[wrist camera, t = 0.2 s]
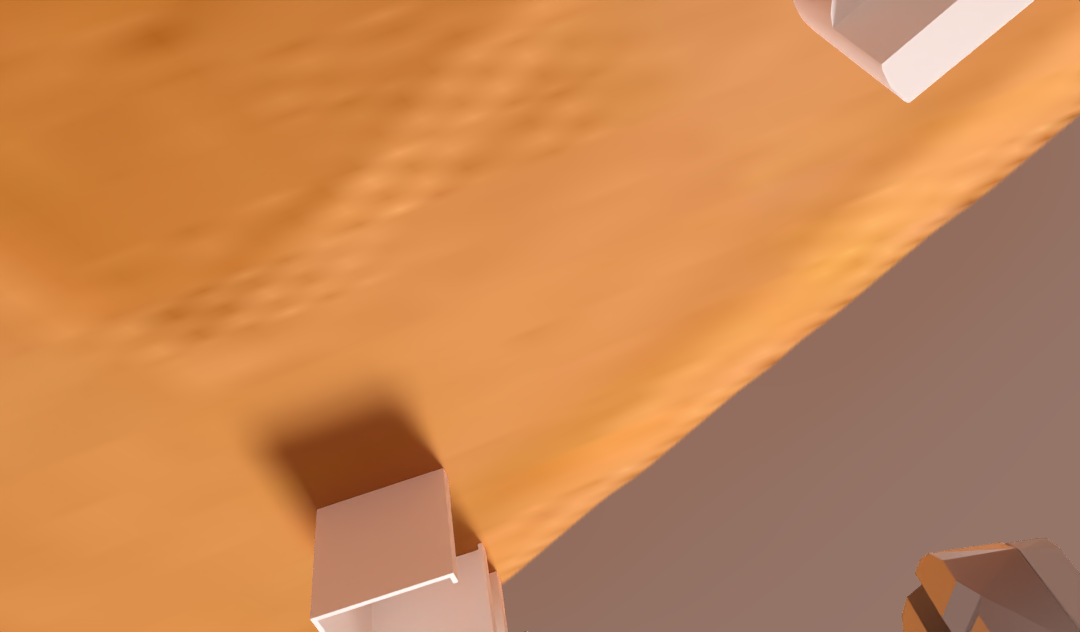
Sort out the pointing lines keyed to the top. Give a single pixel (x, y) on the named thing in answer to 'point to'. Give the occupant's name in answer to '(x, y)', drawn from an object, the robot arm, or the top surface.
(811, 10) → the base with upright slab
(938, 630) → the robot arm
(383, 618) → the white slotted rack
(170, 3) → the top surface
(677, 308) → the top surface
